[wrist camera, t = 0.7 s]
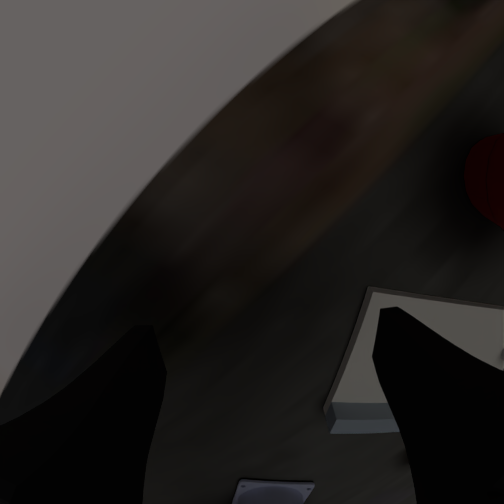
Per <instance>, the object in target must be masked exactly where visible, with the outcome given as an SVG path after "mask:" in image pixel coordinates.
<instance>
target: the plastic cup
mask: <svg viewBox="0 0 504 504" xmlns="http://www.w3.org/2000/svg"><path fill="white" fill-rule="evenodd" d="M464 181H465V189H466V192H467V195H468V197H469V199H470V202H471V204H472V205H473V206H474V207H475V208H476V209H477V210H478V211H479V212H480V213H481V214H482V215H483V216H484V217H486V218H487V219H489V220H491V221H492V222H494V223H495V224H497V225H498V226H500V227H501V228H502V229H503V231H504V133H501V134H497V135H493V136H489V137H485V138H484V139H483V140H480V141H479V142H478V143H476V144H475V145H474V146H473V147H472V148H471V150H470V152H469V154H468V157H467V159H466V163H465V170H464Z"/></svg>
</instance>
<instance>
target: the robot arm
mask: <svg viewBox="0 0 504 504" xmlns="http://www.w3.org/2000/svg"><path fill="white" fill-rule="evenodd" d="M372 359H373V363H374V366H375V370H376V374H377V377H378V380H379V383H380V386H381V388H382V390H383V393H384V395H385V398H386V400H387V402H388V405H389V407H390V409H391V412H392V414H393V416H394V419H395V421H396V423H397V426H398V428H399V431H400V433H401V436H402V439H403V441H404V444H405V448H406V452H407V456H408V460H409V464H410V468H411V473H412V478H413V483H414V488H415V494H416V501H417V504H504V371H502V370H500V369H498V368H496V367H494V366H492V365H490V364H488V363H486V362H484V361H482V360H480V359H478V358H476V357H474V356H472V355H471V354H469V353H467V352H466V351H464V350H462V349H461V348H459V347H457V346H456V345H454V344H453V343H451V342H450V341H448V340H447V339H445V338H444V337H442V336H441V335H439V334H438V333H436V332H435V331H433V330H432V329H430V328H429V327H427V326H426V325H425V324H423V323H422V322H420V321H419V320H417V319H416V318H415V317H413V316H412V315H410V314H409V313H407V312H406V311H404V310H403V309H401V308H399V307H397V306H396V307H389V308H381V309H380V313H379V320H378V326H377V331H376V337H375V343H374V348H373V353H372ZM166 374H167V371H166V368H165V365H164V362H163V359H162V356H161V352H160V349H159V346H158V343H157V339H156V336H155V333H154V329H153V326H152V325H140V326H134V327H133V328H131V329H130V330H129V331H128V332H127V333H126V334H125V335H124V336H123V337H121V338H120V339H119V340H118V341H117V342H116V343H115V344H114V345H113V346H112V347H111V348H110V349H109V350H108V351H107V352H106V353H104V354H103V355H102V356H101V357H100V358H99V359H98V360H97V361H96V362H95V363H94V364H93V365H91V366H90V367H89V368H88V369H87V370H86V371H84V372H83V373H82V374H81V375H80V376H79V377H77V378H76V379H75V380H74V381H73V382H71V383H70V384H69V385H68V386H66V387H65V388H64V389H62V390H61V391H60V392H58V393H57V394H55V395H54V396H52V397H51V398H50V399H48V400H47V401H45V402H44V403H42V404H40V405H39V406H37V407H35V408H33V409H32V410H30V411H28V412H27V413H25V414H23V415H21V416H20V417H18V418H16V419H13V420H11V421H9V422H7V423H5V424H3V425H0V504H142V500H143V487H144V478H145V470H146V463H147V458H148V453H149V449H150V445H151V442H152V438H153V434H154V430H155V427H156V423H157V419H158V416H159V412H160V408H161V405H162V401H163V396H164V389H165V382H166ZM314 487H315V484H314V483H313V482H279V481H261V480H248V479H241V480H240V481H239V483H238V486H237V489H236V492H235V495H234V498H233V501H232V504H304V502H305V500H306V499H307V497H308V496H309V494H310V493H311V491H312V490H313V488H314Z"/></svg>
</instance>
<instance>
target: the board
mask: <svg viewBox="0 0 504 504" xmlns="http://www.w3.org/2000/svg"><path fill="white" fill-rule="evenodd" d="M396 306H397V307H399V308H401V309H403V310H404V311H406V312H407V313H409V314H410V315H412V316H413V317H415V318H416V319H417V320H419V321H420V322H422V323H423V324H425V325H426V326H427V327H429V328H430V329H432V330H433V331H435V332H436V333H438V334H439V335H441V336H442V337H444V338H445V339H447V340H448V341H450V342H451V343H453V344H454V345H456V346H457V347H459V348H461V349H462V350H464V351H466V352H467V353H469V354H471V355H472V356H474V357H476V358H478V359H480V360H482V361H484V362H486V363H488V364H490V365H492V366H494V367H496V368H498V369H500V370H502V371H503V369H504V306H500V305H492V304H485V303H478V302H471V301H464V300H458V299H451V298H444V297H437V296H430V295H424V294H417V293H411V292H404V291H397V290H391V289H385V288H378V287H372V286H368V288H367V291H366V295H365V298H364V301H363V304H362V307H361V310H360V313H359V316H358V319H357V322H356V325H355V327H354V330H353V333H352V336H351V339H350V341H349V344H348V347H347V350H346V352H345V355H344V357H343V360H342V363H341V365H340V368H339V370H338V373H337V375H336V378H335V380H334V383H333V385H332V388H331V390H330V392H329V395H328V397H327V400H326V402H325V404H324V406H323V410H324V414H325V417H326V421H327V425H328V429H329V433H330V434H358V433H386V432H400V431H399V428H398V426H397V423H396V421H395V419H394V416H393V414H392V412H391V409H390V407H389V405H388V402H387V400H386V398H385V395H384V393H383V390H382V388H381V386H380V383H379V380H378V377H377V374H376V370H375V366H374V363H373V359H372V353H373V348H374V343H375V337H376V331H377V326H378V320H379V313H380V309H381V308H389V307H396Z"/></svg>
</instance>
